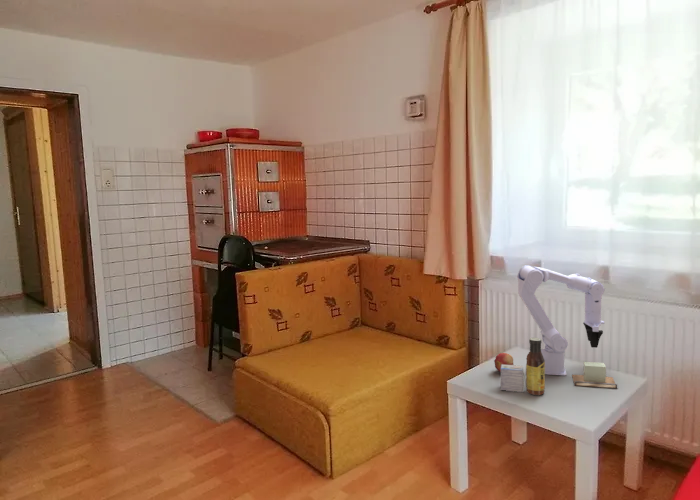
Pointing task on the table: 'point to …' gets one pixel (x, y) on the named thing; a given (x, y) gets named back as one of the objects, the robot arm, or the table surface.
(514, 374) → the medicine box
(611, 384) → the brown book
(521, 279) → the robot arm
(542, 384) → the sauce bottle
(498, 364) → the fruit
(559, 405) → the table surface
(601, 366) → the carton
